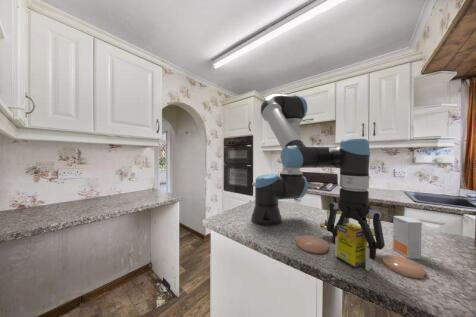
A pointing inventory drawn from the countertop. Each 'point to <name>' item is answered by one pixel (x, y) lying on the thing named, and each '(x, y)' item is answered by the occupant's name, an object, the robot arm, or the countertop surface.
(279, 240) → the countertop surface
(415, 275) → the glossy peach dome
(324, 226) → the balance
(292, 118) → the robot arm
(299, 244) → the peach round dome
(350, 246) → the supplement box
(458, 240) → the countertop surface
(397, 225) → the skincare box
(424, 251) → the countertop surface
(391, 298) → the countertop surface
